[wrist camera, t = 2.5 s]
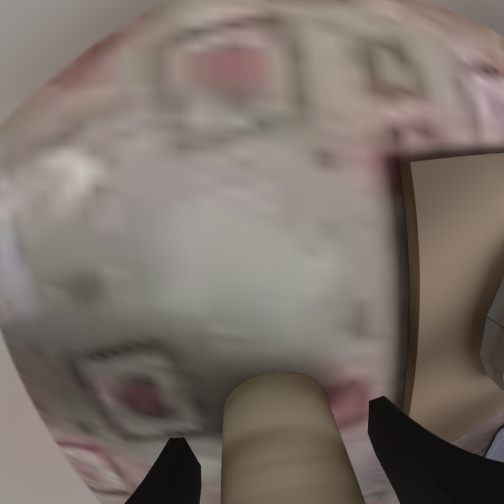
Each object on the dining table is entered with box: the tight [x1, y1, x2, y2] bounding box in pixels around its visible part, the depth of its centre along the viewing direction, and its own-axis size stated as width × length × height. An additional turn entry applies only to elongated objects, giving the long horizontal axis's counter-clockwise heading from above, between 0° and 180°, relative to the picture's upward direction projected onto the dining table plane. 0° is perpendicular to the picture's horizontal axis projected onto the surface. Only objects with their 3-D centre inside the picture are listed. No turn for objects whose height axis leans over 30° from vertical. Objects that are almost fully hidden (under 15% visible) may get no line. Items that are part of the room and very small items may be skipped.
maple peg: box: [221, 372, 365, 504], centre depth 9 cm, size 4×4×6 cm
